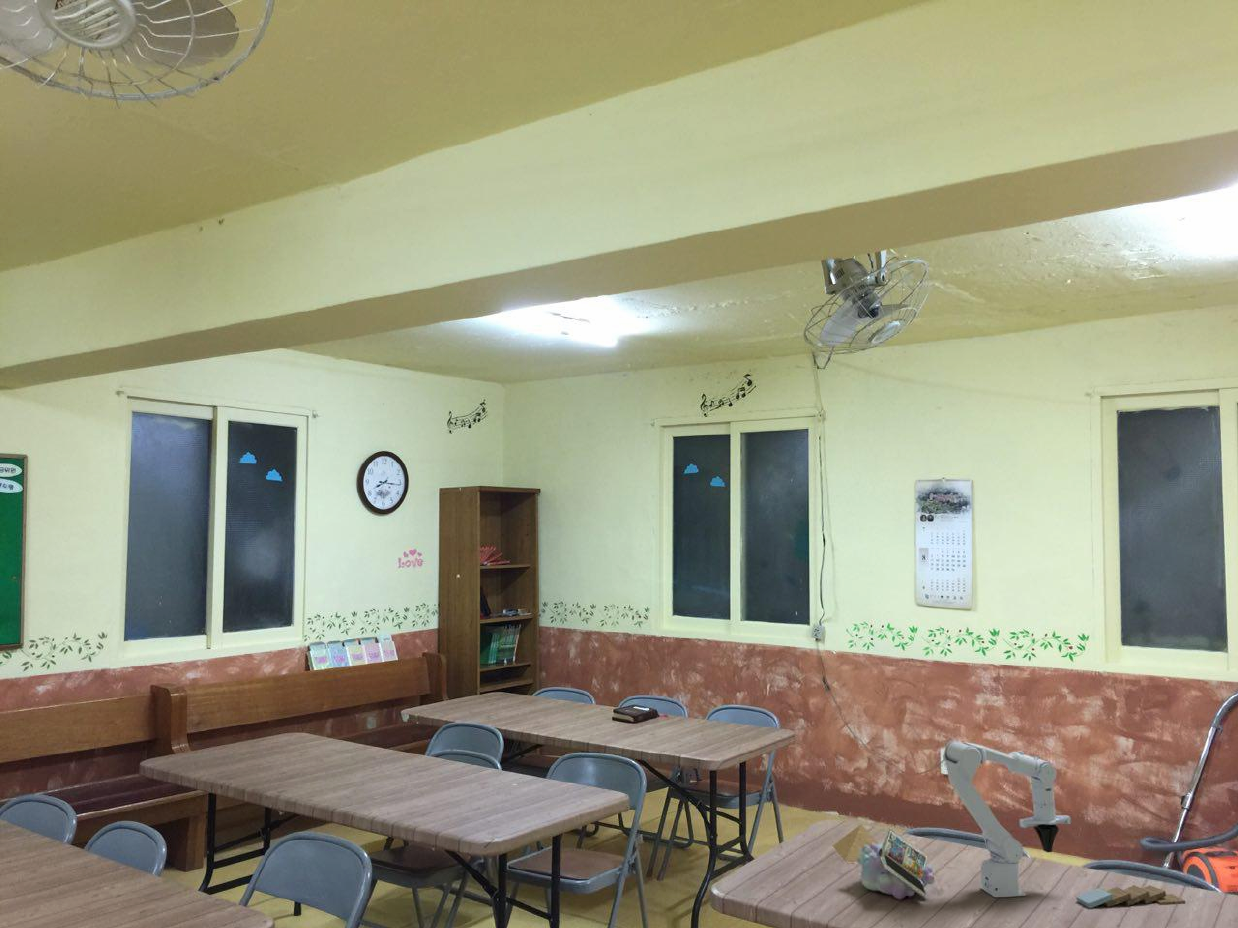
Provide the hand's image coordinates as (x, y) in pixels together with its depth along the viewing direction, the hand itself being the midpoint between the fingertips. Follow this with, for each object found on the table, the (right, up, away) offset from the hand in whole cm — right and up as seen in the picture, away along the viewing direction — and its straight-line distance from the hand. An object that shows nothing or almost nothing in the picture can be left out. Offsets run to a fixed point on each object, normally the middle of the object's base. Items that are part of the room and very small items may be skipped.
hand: (1047, 850), depth 273 cm
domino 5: (+25, -10, -10) cm, 29 cm away
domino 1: (+4, -9, -13) cm, 16 cm away
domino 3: (+15, -9, -11) cm, 21 cm away
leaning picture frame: (-44, -10, -3) cm, 45 cm away
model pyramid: (-46, -13, +29) cm, 56 cm away
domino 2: (+9, -9, -12) cm, 18 cm away
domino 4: (+21, -9, -10) cm, 25 cm away
